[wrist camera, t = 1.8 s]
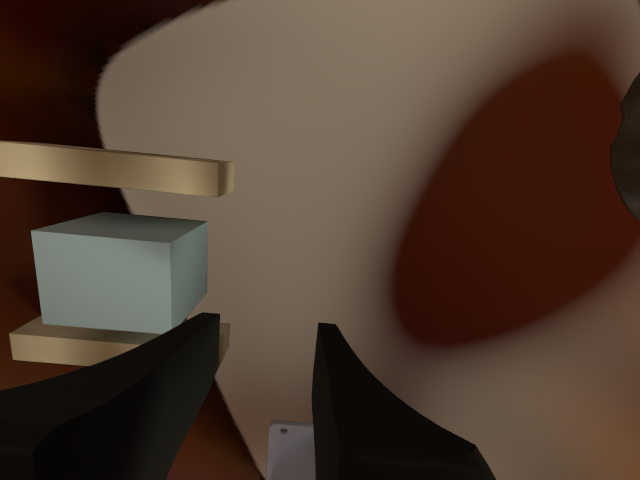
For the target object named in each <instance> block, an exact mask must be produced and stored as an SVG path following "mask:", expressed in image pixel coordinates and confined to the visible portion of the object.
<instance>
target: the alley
mask: <svg viewBox="0 0 640 480" xmlns="http://www.w3.org/2000/svg"><path fill="white" fill-rule="evenodd" d="M234 164H235V162H229V161H219V160H209V159H198V158H188V157H178V156H168V155H157V154H148V153H138V152H127V151H117V150H107V149H97V148H87V147H77V146H67V145H56V144H46V143H36V142H17V141H0V176H1V177H12V178H22V179H32V180H43V181H53V182H64V183H74V184H85V185H95V186H105V187H116V188H126V189H137V190H147V191H158V192H168V193H179V194H189V195H199V196H210V197H219V196H222V195H224V194H227V193H229V192H232V191H234ZM185 321H187V320H184V321H183V322H185ZM183 322H182V323H183ZM182 323H181V324H182ZM229 329H230V324H226V323H220V336H219V365H218V368H219V366H220V364H221V362H222V360H223V358H224V355H225V353H226V351H227V349H228V347H229ZM160 335H162V334H156V333H144V332H132V331H120V330H108V329H97V328H85V327H73V326H61V325H49V324H43V322H42V315H41V316H39V317H37V318H36V319H34V320H32V321H30V322H29V323H27V324H25V325H23V326H22V327H20V328H18V329H16V330H15V331H13V332H11V333H9V336H10V342H11V349H12V355H13V360H23V361H35V362H47V363H58V364H70V365H82V366H91V365H94V364H97V363H99V362H102V361H105V360H107V359H110V358H112V357H115V356H117V355H120V354H122V353H124V352H127V351H129V350H131V349H133V348H135V347H137V346H139V345H141V344H143V343H146V342H148V341H150V340H152V339H154V338H156V337H158V336H160ZM218 368H217V370H218ZM216 372H217V371H216Z"/></svg>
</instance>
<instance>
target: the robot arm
mask: <svg viewBox="0 0 640 480" xmlns="http://www.w3.org/2000/svg"><path fill="white" fill-rule="evenodd" d="M219 336H220V314H214V313H200V314H198V315H196V316H194V317H193V318H191V319H189V320H187V321H185V322H183V323H182V324H180V325H178V326H176V327H174V328H172V329H171V330H169V331H167V332H165V333H163V334H162V335H160V336H158V337H156V338H154V339H152V340H150V341H148V342H146V343H143V344H141V345H139V346H137V347H135V348H133V349H131V350H129V351H127V352H124V353H122V354H120V355H117V356H115V357H112V358H110V359H107V360H105V361H102V362H99V363H97V364H94V365H91V366H88V367H85V368H82V369H79V370H76V371H72V372H69V373H66V374H63V375H60V376H57V377H53V378H50V379H46V380H42V381H39V382H35V383H31V384H27V385H23V386H18V387H14V388H10V389H5V390H1V391H0V480H166V478H167V475H168V473H169V470H170V468H171V466H172V463H173V461H174V459H175V457H176V455H177V453H178V451H179V449H180V447H181V445H182V443H183V441H184V439H185V437H186V435H187V433H188V431H189V429H190V427H191V425H192V424H193V422H194V420H195V418H196V416H197V414H198V412H199V410H200V408H201V406H202V404H203V402H204V400H205V398H206V396H207V394H208V392H209V390H210V388H211V385H212V382H213V380H214V377H215V374H216V371H217V368H218V365H219ZM312 412H313V423H302V422H289V421H273V422H272V423H271V424H270V428H269V438H268V453H267V468H266V480H496V479H495V477H494V475H493V473H492V471H491V469H490V468H489V466H488V464H487V462H486V461H485V459H484V458H483V457H482V455H481V453H480V452H479V450H478V448H477V447H476V445H474V444H472V443H470V442H469V441H467V440H465V439H463V438H461V437H459V436H457V435H455V434H453V433H452V432H450V431H448V430H446V429H444V428H442V427H440V426H439V425H437V424H435V423H434V422H432V421H431V420H429V419H428V418H426V417H424V416H423V415H421V414H420V413H418V412H417V411H415V410H414V409H412V408H411V407H410V406H408V405H407V404H406V403H404V402H403V401H402V400H400V399H399V398H398V397H396V396H395V395H394V394H393V393H392V392H390V391H389V390H388V389H387V388H386V387H385V386H384V385H383V384H382V383H381V382H379V380H378V379H376V378H375V377H374V376H373V375H372V373H371V372H370V371H369V370H368V369H367V368H366V367H365V366H364V365H363V363H362V362H361V361H360V359H359V358H358V357H357V356H356V354H355V353H354V351H353V350H352V349H351V347H350V346H349V344H348V343H347V341H346V340H345V339H344V337H343V335H342V333H341V332H340V330H339V328H338V327H337V326H336V324H328V323H318V331H317V340H316V350H315V360H314V369H313V385H312ZM282 428H286V430H283V429H282Z"/></svg>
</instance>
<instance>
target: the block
mask: <svg viewBox="0 0 640 480" xmlns="http://www.w3.org/2000/svg"><path fill="white" fill-rule="evenodd" d="M31 235H32V243H33V251H34V259H35V267H36V275H37V282H38V290H39V298H40V306H41V314H42V322H43V324H49V325H61V326H73V327H85V328H97V329H108V330H120V331H132V332H144V333H156V334H163V333H165V332H167V331H169V330H171V329H172V328H174V327H176V326H178V325H180V324H181V323H182V322H183V321H184V319H185V318H186V317H187V316H188V315H189V313H190V312H191V311H192V310H193V308H194V307H195V306H196V305H197V304H198V302H199V301H200V300H201V299H202V298H203V296H204V295H205V294H206V293H207V240H208V237H207V235H208V221H198V220H188V219H178V218H167V217H166V218H165V217H156V216H144V215H134V214H133V215H131V214H120V213H109V212H101V213H97V214H94V215H90V216H86V217H82V218H78V219H74V220H70V221H66V222H63V223H59V224H55V225H51V226H47V227H43V228H39V229H35V230H32V231H31Z"/></svg>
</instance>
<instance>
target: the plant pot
mask: <svg viewBox="0 0 640 480" xmlns="http://www.w3.org/2000/svg"><path fill="white" fill-rule="evenodd" d="M620 108H621V111H622V115H623V118H622V124H621V126H620V129H619V132H618V134H617V137H616V139H615V140H614V142H613V143H612V145H611V147H610V148H611V149H610V161H611V170H612V176H613V180H614V183H615V186H616V189H617V191H618V193H619V195H620V197H621V199H622V201H623V202H624V204H625V206H626V207H627V208H628V210H629V211H630V212H631V213H632V214H633V216H634V217H635V218H636V219H637V220H638V221H640V73H639V74H638V76H637V77H636V78H635V79H634V81H633V83H632V84H631V86H630V88H629V90H628V92H627V94H626V96H625V98H624V99H623V101H622V103H621V107H620Z"/></svg>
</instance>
